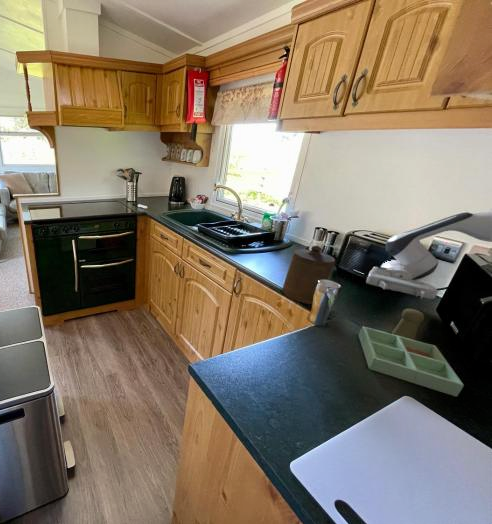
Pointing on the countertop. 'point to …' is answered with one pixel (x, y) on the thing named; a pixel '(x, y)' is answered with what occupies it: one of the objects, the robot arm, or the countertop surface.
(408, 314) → the cork
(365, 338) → the compartment tray
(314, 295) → the beer glass
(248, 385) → the countertop surface
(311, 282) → the wooden container
